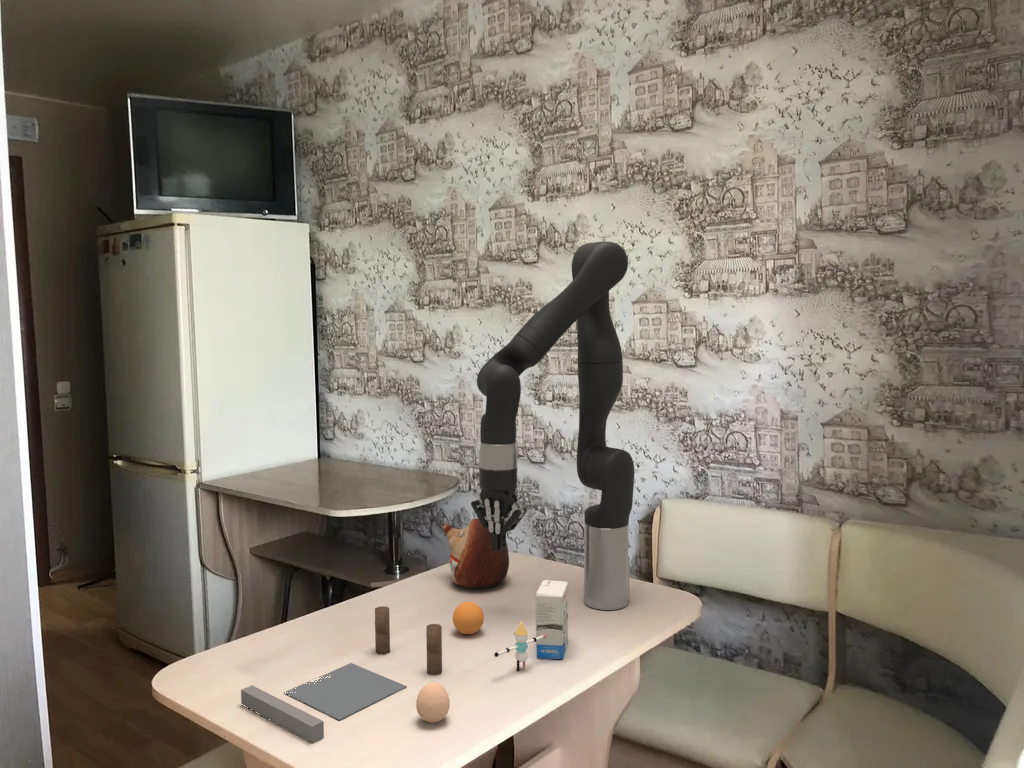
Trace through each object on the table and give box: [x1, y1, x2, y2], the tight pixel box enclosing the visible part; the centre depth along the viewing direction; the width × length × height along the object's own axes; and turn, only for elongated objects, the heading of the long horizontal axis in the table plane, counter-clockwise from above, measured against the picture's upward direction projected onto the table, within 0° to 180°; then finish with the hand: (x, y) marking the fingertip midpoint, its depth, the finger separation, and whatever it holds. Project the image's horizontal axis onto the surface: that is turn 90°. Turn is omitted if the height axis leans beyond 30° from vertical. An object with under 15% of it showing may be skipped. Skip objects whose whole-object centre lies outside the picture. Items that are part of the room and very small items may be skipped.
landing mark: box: [283, 662, 407, 722], centre depth 134 cm, size 14×14×1 cm
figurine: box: [442, 517, 510, 590], centre depth 184 cm, size 14×16×15 cm
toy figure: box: [493, 620, 546, 672], centre depth 141 cm, size 12×2×9 cm, turn 133°
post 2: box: [425, 623, 443, 676], centre depth 140 cm, size 3×3×8 cm
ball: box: [452, 601, 485, 635], centre depth 157 cm, size 6×6×6 cm
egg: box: [415, 682, 451, 724], centre depth 124 cm, size 5×5×6 cm
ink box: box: [535, 579, 569, 661], centre depth 149 cm, size 9×5×12 cm, turn 169°
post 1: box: [374, 605, 391, 655], centre depth 148 cm, size 3×3×8 cm
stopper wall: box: [240, 684, 325, 744], centre depth 124 cm, size 2×18×2 cm, turn 51°
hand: (498, 550), depth 162 cm, fingers closed
